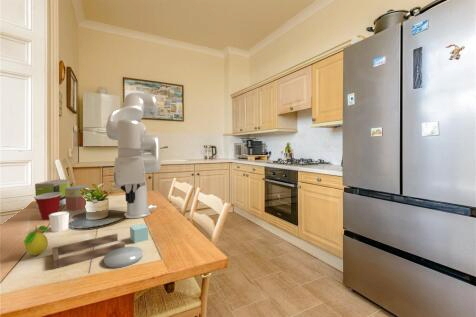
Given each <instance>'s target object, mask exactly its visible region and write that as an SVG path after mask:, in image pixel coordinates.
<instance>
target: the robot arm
mask: <svg viewBox="0 0 476 317" xmlns="http://www.w3.org/2000/svg"><path fill="white" fill-rule="evenodd" d="M158 111H159V110H158V100H157V98H156V96H155V95H154V94H152V93H151V94H150V93H141V92H139V93H138V92H130V93H128V94H126V96H125V98H124V101H123V102H122V103H121V107H120V108H119V109H116V110H114V111H112V112H111V113H110V114H109V116H108V118H107V121H106V126H105V134H106V135H107V136H106V137H107V138H109V140H114V141H117V157H115V159H114V164H113V165H114V166H113V183H114V185H113V188H114V189H115V190H116V189H118V190H122V191H123V192H124V193H125V202H126V210H127V211H125V213H124V214H123V216H124V215H125V216H126V217H125V218H126V219H140V218H145V217H148V216H149V215H151V210H156V209H157V205H156V204H154V205H152V204H148V186H147V184H148V183H147V182H148V181H147V179H146V173H157V172H159V171H160V170H161V167H162V160H161V158H162V155H161V152H162V151H161V141H160V137H159V136H157V135H156V134H155V135H154V134H147V133H148V132H147V127H146V125H145V124H144V123H143V122H142V121H141V120H142V119H143V118H151V119H152V118H156V117H157V115H158Z"/></svg>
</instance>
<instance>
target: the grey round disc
mask: <svg viewBox="0 0 476 317" xmlns="http://www.w3.org/2000/svg"><path fill="white" fill-rule="evenodd" d="M142 258H143V250H142V248H141V247H138V246H125V247H123V248H118V249H115V250H113V251H111V252H109V253H107V254H106V255H104V257H103V265H104V266H105V267H107V268H112V269H119V268H120V269H121V268H126V267H129V266H132V265H134V264H136V263H138V262H139V261H141V259H142Z"/></svg>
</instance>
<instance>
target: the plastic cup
mask: <svg viewBox="0 0 476 317" xmlns="http://www.w3.org/2000/svg"><path fill="white" fill-rule="evenodd" d="M61 195H62V193H61V192H52V193H45V194H41V195H37V196H36V195H35V196H34V197H33V199H34V200H35V202H37V204H38V207H39V209H38V210H39V211H38V212H39V214H40V216H41V219H42V220H43V221H48V220H49V221H50V219H49V215H50V214H52V213H56V212H59V209H60V206H59V204H60V198H61Z"/></svg>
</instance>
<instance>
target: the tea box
mask: <svg viewBox="0 0 476 317" xmlns="http://www.w3.org/2000/svg"><path fill="white" fill-rule="evenodd" d="M70 183H71V182H70V179H64V178H63V179H50V180H46V181H42V182H37V183H35V184H34V190H35V196H37V195H41V194H45V193H52V192H61V193H62V195H61V198H60V204H59V207H62V206H63V205H66V198H65V188H67V187H71V186H70ZM35 202H36V201H35ZM35 205H36V209H37V210H39V207H38V204H37V202H36V203H35Z"/></svg>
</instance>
